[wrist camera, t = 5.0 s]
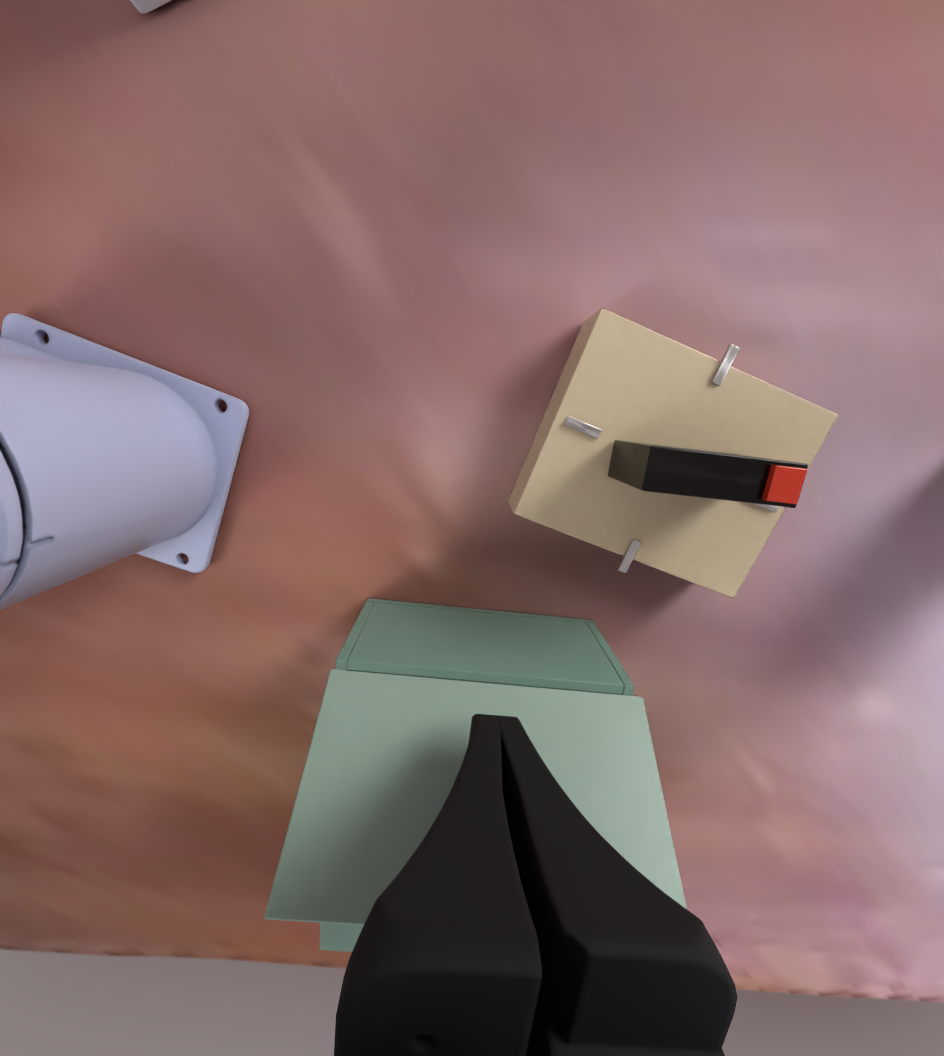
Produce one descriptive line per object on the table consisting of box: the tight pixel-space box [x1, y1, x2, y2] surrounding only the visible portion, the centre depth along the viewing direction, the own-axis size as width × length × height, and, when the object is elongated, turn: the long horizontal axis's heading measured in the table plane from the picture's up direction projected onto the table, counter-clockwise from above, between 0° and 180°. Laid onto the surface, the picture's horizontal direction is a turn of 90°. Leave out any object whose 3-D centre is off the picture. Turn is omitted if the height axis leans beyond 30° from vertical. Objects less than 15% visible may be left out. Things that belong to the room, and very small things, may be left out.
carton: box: [319, 598, 635, 952], centre depth 19 cm, size 13×11×6 cm
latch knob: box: [608, 440, 808, 508], centre depth 15 cm, size 5×1×4 cm, turn 83°
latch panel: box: [508, 308, 838, 598], centre depth 18 cm, size 10×9×3 cm
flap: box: [264, 669, 687, 925], centre depth 13 cm, size 6×11×1 cm
